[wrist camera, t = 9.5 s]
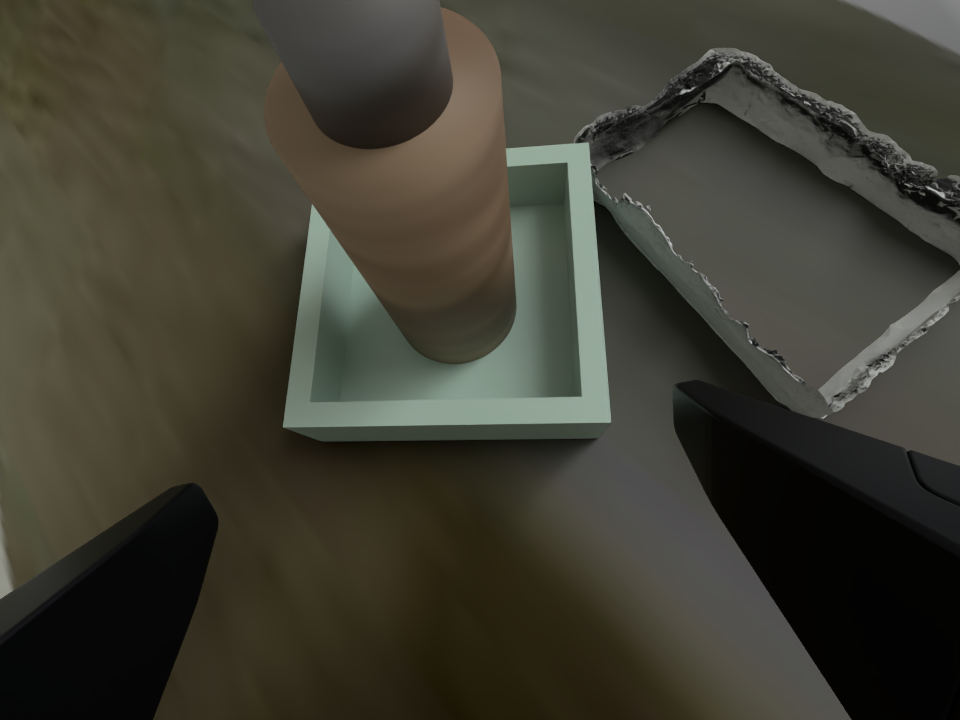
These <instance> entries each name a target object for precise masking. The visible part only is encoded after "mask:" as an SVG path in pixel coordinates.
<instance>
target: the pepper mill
mask: <svg viewBox="0 0 960 720" xmlns="http://www.w3.org/2000/svg"><path fill="white" fill-rule="evenodd" d="M253 5H254V10H255V13H256V15H257V18H258V19H259V21H260V23H261V25H262V27H263V29H264V30H265V32H266V34H267V36H268V38H269V40H270V41H271V43H272V45H273V47H274V49H275V51H276V52H277V54H278V56H279V58H280V60H281V63H280V65H279V66H278V68H277V69H276V71H275V73H274V75H273V77H272V79H271V82H270V84H269V87H268V91H267V94H266V99H265V106H264V120H265V125H266V131H267V134H268V136H269V139H270V142H271V144H272V145H273V147H274V149H275V151H276V152H277V154H278V155H279V157H280V158H281V160H282V161H283V163H284V164H285V165H286V167H287V168H288V170H289V171H290V173H291V174H292V175H293V177H294V178H295V180H296V181H297V183H298V184H299V186H300V187H301V188H302V190H303V191H304V193H305V194H306V196H307V197H308V199H309V200H310V201H311V203H312V204H313V206H314V207H315V209H316V210H317V212H318V213H319V214H320V216H321V217H322V219H323V220H324V222H325V223H326V225H327V226H328V227H329V229H330V230H331V232H332V233H333V235H334V236H335V238H336V239H337V240H338V242H339V243H340V245H341V246H342V248H343V249H344V251H345V252H346V253H347V255H348V256H349V258H350V259H351V261H352V262H353V264H354V265H355V266H356V268H357V269H358V271H359V272H360V274H361V275H362V276H363V278H364V279H365V281H366V282H367V284H368V285H369V287H370V288H371V289H372V291H373V292H374V294H375V295H376V297H377V298H378V300H379V301H380V302H381V304H382V305H383V307H384V308H385V310H386V311H387V313H388V314H389V315H390V317H391V318H392V320H393V321H394V323H395V324H396V326H397V327H398V328H399V330H400V331H401V333H402V334H403V336H404V337H405V339H406V340H407V341H408V343H409V344H410V345H411V346H412V347H413V348H414V349H415V350H416V351H417V352H419V353H420V354H421V355H423V356H425V357H427V358H429V359H431V360H434V361H437V362H441V363H447V364H462V363H467V362H471V361H474V360H477V359H480V358H482V357H484V356H486V355H487V354H489V353H491V352H492V351H493V350H495V349H496V348H497V347H498V346H499V345H500V344H501V343H502V342H503V341H504V340H505V338H506V337H507V336H508V334H509V332H510V330H511V328H512V326H513V323H514V320H515V316H516V308H517V305H516V289H515V274H514V259H513V245H512V230H511V215H510V201H509V186H508V171H507V157H506V142H505V127H504V113H503V98H502V83H501V70H500V66H499V61H498V58H497V55H496V53H495V50H494V48H493V46H492V45H491V43H490V42H489V40H488V38H487V37H486V36H485V35H484V34H483V33H482V31H481V30H480V29H479V28H478V27H476V26H475V25H474V24H473V23H472V22H470V21H469V20H467V19H466V18H464V17H462V16H461V15H459V14H457V13H455V12H453V11H450V10H448V9H445V8H442V7H440V1H439V0H253Z"/></svg>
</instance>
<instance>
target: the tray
mask: <svg viewBox="0 0 960 720" xmlns="http://www.w3.org/2000/svg"><path fill="white" fill-rule="evenodd" d="M506 157H507V171H508V186H509V201H510V215H511V230H512V245H513V259H514V274H515V289H516V305H517V308H516V316H515V320H514V323H513V326H512V328H511V330H510V332H509V334H508V336H507V337H506V338H505V340H504V341H503V342H502V343H501V344H500V345H499V346H498V347H497V348H496V349H495V350H493V351H492V352H491V353H489V354H487V355H486V356H484V357H482V358H480V359H477V360H474V361H471V362H467V363H462V364H447V363H441V362H437V361H434V360H431V359H429V358H427V357H425V356H423V355H421V354H420V353H419V352H417V351H416V350H415V349H414V348H413V347H412V346H411V345H410V344H409V343H408V341H407V340H406V339H405V337H404V336H403V334H402V333H401V331H400V330H399V328H398V327H397V326H396V324H395V323H394V321H393V320H392V318H391V317H390V315H389V314H388V313H387V311H386V310H385V308H384V307H383V305H382V304H381V302H380V301H379V300H378V298H377V297H376V295H375V294H374V292H373V291H372V289H371V288H370V287H369V285H368V284H367V282H366V281H365V279H364V278H363V276H362V275H361V274H360V272H359V271H358V269H357V268H356V266H355V265H354V264H353V262H352V261H351V259H350V258H349V256H348V255H347V253H346V252H345V251H344V249H343V248H342V246H341V245H340V243H339V242H338V240H337V239H336V238H335V236H334V235H333V233H332V232H331V230H330V229H329V227H328V226H327V225H326V223H325V222H324V220H323V219H322V217H321V216H320V214H319V213H318V212H317V210H316V209H315V207H314V206H313V204H312V210H311V217H310V225H309V232H308V240H307V248H306V255H305V263H304V270H303V278H302V286H301V293H300V301H299V308H298V316H297V323H296V331H295V339H294V346H293V354H292V361H291V369H290V377H289V384H288V392H287V399H286V407H285V415H284V422H283V428H286V429H288V430H291V431H294V432H297V433H299V434H302V435H305V436H308V437H311V438H313V439H316V440H319V441H322V442H336V441H420V440H505V439H589V438H599V437H600V436H601V435H602V434H603V432H604V431H605V430H606V428H607V427H608V426H609V425H610V423H611V414H610V402H609V389H608V377H607V364H606V352H605V339H604V327H603V314H602V302H601V289H600V277H599V264H598V251H597V239H596V226H595V214H594V201H593V189H592V176H591V164H590V151H589V143H575V144H562V145H549V146H535V147H522V148H508V149H506Z"/></svg>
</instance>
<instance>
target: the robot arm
mask: <svg viewBox="0 0 960 720" xmlns="http://www.w3.org/2000/svg"><path fill="white" fill-rule="evenodd" d="M672 395H673V421H674V428H675V431H676V434H677V436H678V438H679V440H680V442H681V444H682V446H683V448H684V451H685V453H686V455H687V457H688V459H689V461H690V463H691V465H692V467H693V469H694V471H695V473H696V475H697V477H698V479H699V481H700V483H701V485H702V487H703V489H704V491H705V493H706V495H707V497H708V499H709V500H710V502H711V504H712V506H713V507H714V509H715V511H716V512H717V514H718V516H719V517H720V519H721V520H722V522H723V523H724V525H725V526H726V528H727V529H728V531H729V533H730V534H731V536H732V537H733V539H734V540H735V542H736V543H737V545H738V546H739V548H740V549H741V551H742V552H743V554H744V555H745V557H746V559H747V560H748V562H749V563H750V565H751V566H752V568H753V569H754V571H755V572H756V574H757V575H758V577H759V578H760V580H761V582H762V583H763V585H764V586H765V588H766V589H767V591H768V592H769V594H770V595H771V597H772V598H773V600H774V601H775V603H776V605H777V606H778V608H779V609H780V611H781V612H782V614H783V615H784V617H785V618H786V620H787V621H788V623H789V624H790V626H791V627H792V629H793V631H794V632H795V634H796V635H797V637H798V638H799V640H800V641H801V643H802V644H803V646H804V647H805V649H806V650H807V652H808V654H809V655H810V657H811V658H812V660H813V661H814V663H815V664H816V666H817V667H818V669H819V670H820V672H821V673H822V675H823V677H824V678H825V680H826V681H827V683H828V684H829V686H830V687H831V689H832V690H833V692H834V693H835V695H836V696H837V698H838V699H839V701H840V703H841V704H842V706H843V707H844V709H845V710H846V712H847V713H848V715H849V716H850V718H851V719H852V720H960V466H958V465H955V464H952V463H949V462H945V461H942V460H939V459H936V458H933V457H930V456H927V455H924V454H921V453H918V452H915V451H912V450H910V451H908V452H907V451H906V450H905V448H903V447H900V446H897V445H894V444H891V443H888V442H885V441H882V440H878V439H875V438H872V437H869V436H866V435H863V434H860V433H857V432H854V431H851V430H848V429H845V428H842V427H839V426H836V425H833V424H830V423H827V422H824V421H821V420H818V419H815V418H812V417H809V416H806V415H803V414H800V413H797V412H794V411H790V410H787V409H784V408H781V407H778V406H775V405H772V404H769V403H766V402H763V401H760V400H757V399H754V398H751V397H748V396H745V395H742V394H739V393H736V392H733V391H730V390H727V389H724V388H721V387H718V386H715V385H712V384H709V383H706V382H702V381H699V380H692V381H687V382H682V383H678V384H676V385H675V386H674V387H673V391H672ZM217 530H218V517H217V514H216V512H215V510H214V508H213V507H212V505H211V503H210V502H209V500H208V498H207V497H206V495H205V493H204V491H203V490H202V488H201V487H200V486H199V485H198V484H195V483H188V484H183V485H179V486H174V487H172V488H170V489H168V490H167V491H165V492H164V493H162V494H160V495H159V496H157V497H156V498H154V499H153V500H151V501H150V502H148V503H147V504H145V505H144V506H142V507H141V508H139V509H138V510H136V511H134V512H133V513H131V514H130V515H128V516H127V517H125V518H124V519H122V520H121V521H119V522H118V523H116V524H115V525H113V526H111V527H110V528H108V529H107V530H105V531H104V532H102V533H101V534H99V535H98V536H96V537H95V538H93V539H92V540H90V541H89V542H87V543H85V544H84V545H82V546H81V547H79V548H78V549H76V550H75V551H73V552H72V553H70V554H69V555H67V556H66V557H64V558H62V559H61V560H59V561H58V562H56V563H55V564H53V565H52V566H50V567H49V568H47V569H46V570H44V571H43V572H41V573H40V574H38V575H36V576H35V577H33V578H32V579H30V580H29V581H27V582H26V583H24V584H23V585H21V586H20V587H18V588H17V589H15V590H13V591H12V592H10V593H9V594H7V595H6V596H4V597H3V598H1V599H0V720H153V718H154V715H155V713H156V710H157V708H158V705H159V702H160V700H161V697H162V694H163V692H164V689H165V687H166V684H167V681H168V679H169V676H170V674H171V671H172V668H173V666H174V663H175V660H176V658H177V655H178V653H179V650H180V647H181V645H182V642H183V640H184V637H185V634H186V632H187V629H188V627H189V624H190V621H191V619H192V616H193V613H194V610H195V607H196V605H197V601H198V598H199V595H200V592H201V588H202V584H203V581H204V577H205V573H206V570H207V566H208V563H209V559H210V555H211V552H212V548H213V544H214V541H215V537H216V533H217Z"/></svg>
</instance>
